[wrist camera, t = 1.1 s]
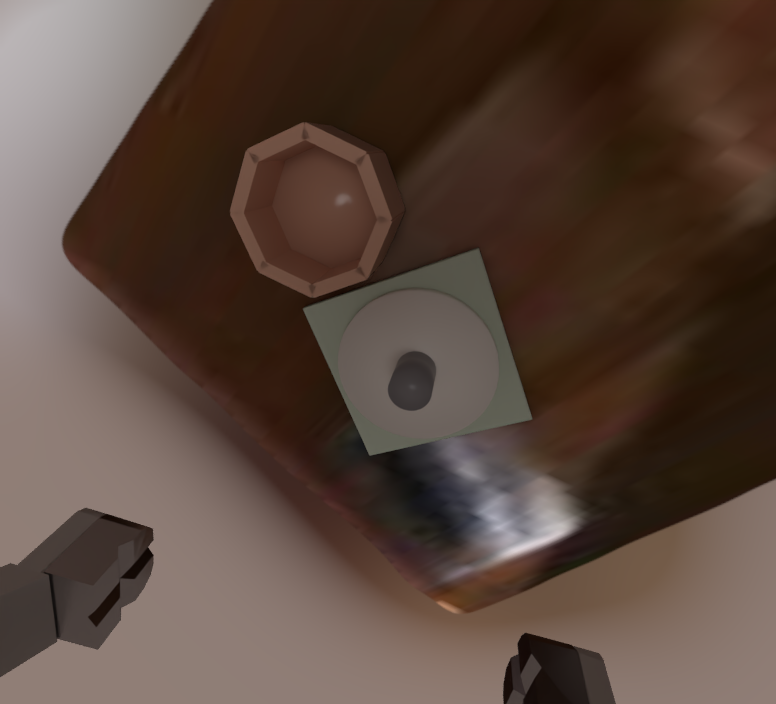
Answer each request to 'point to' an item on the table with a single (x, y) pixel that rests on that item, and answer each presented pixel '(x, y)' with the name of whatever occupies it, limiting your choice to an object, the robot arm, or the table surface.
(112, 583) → the robot arm
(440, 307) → the lid
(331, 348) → the mat
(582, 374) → the table surface
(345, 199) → the bowl
